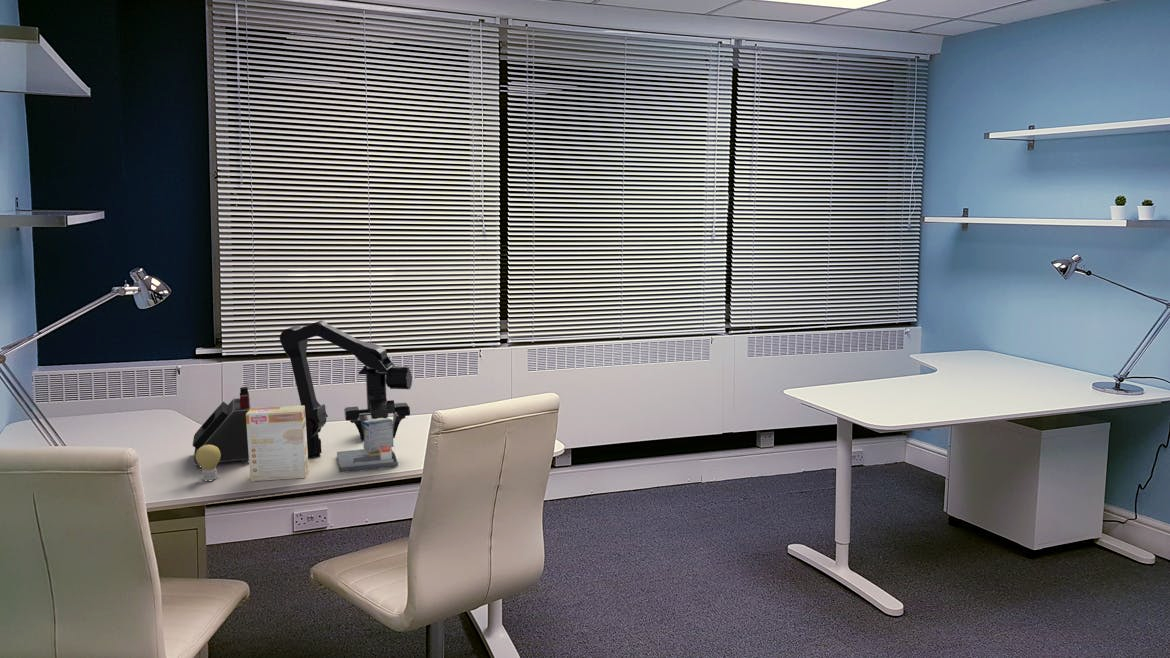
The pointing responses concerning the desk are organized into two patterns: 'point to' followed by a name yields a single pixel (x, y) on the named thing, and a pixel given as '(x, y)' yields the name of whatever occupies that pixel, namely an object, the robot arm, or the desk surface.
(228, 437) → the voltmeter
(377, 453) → the pad
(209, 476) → the light bulb
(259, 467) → the coffeecake box
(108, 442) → the desk surface
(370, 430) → the medicine box
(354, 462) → the panel
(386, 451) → the breaker toggle
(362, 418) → the electrical switch
